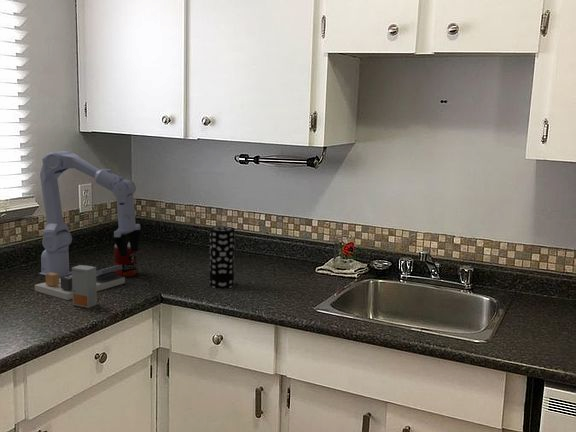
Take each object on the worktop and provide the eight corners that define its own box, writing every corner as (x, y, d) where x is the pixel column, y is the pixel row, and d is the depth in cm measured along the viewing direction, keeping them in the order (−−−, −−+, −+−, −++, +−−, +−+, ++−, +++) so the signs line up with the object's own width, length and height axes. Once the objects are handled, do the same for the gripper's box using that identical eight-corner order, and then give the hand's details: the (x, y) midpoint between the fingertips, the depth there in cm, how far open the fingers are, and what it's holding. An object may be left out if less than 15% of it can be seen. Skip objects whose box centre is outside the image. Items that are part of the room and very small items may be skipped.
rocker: (88, 277, 209) (87, 272, 209) (109, 271, 217) (108, 267, 217) (102, 274, 206) (101, 269, 206) (122, 268, 213) (121, 264, 213)
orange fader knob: (45, 284, 201) (45, 273, 200) (52, 282, 203) (51, 271, 202) (52, 286, 199) (52, 275, 199) (59, 284, 201) (58, 273, 201)
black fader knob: (60, 288, 197) (60, 277, 197) (67, 286, 199) (67, 275, 199) (68, 290, 195) (67, 279, 195) (74, 288, 197) (74, 277, 197)
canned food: (124, 278, 219) (123, 248, 217) (110, 274, 224) (109, 244, 222) (141, 274, 225) (141, 244, 223) (127, 270, 230) (126, 241, 228)
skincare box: (72, 305, 188) (70, 267, 186) (81, 301, 192) (80, 264, 190) (88, 308, 186) (87, 270, 184) (97, 304, 190) (96, 266, 188)
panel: (34, 290, 202) (34, 279, 201) (93, 275, 222) (92, 264, 221) (67, 300, 193) (67, 288, 193) (125, 282, 214) (124, 272, 213)
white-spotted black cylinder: (220, 280, 220) (221, 225, 216) (238, 285, 215) (239, 228, 212) (204, 285, 213) (204, 228, 210) (222, 290, 209) (223, 232, 205)
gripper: (126, 218, 204) (129, 258, 206) (146, 211, 218) (149, 249, 220) (107, 218, 206) (110, 258, 208) (128, 211, 220) (131, 248, 222)
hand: (129, 253), depth 214 cm, fingers open, 7 cm apart
